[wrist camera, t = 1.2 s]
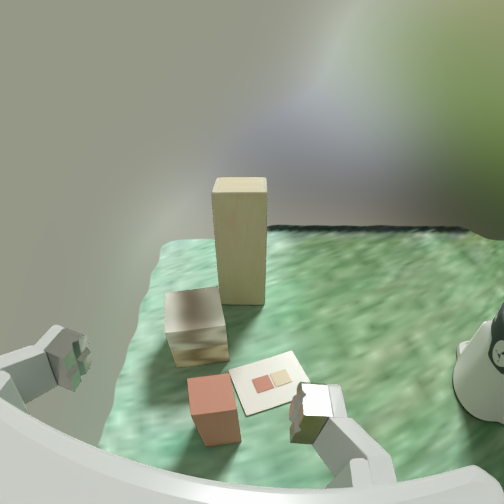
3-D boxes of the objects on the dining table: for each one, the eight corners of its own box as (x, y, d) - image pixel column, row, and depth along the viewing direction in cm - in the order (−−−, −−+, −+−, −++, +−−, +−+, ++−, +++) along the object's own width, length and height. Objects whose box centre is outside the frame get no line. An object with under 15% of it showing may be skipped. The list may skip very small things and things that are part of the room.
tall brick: (235, 412, 35) (229, 372, 30) (241, 441, 32) (236, 409, 26) (201, 416, 35) (187, 378, 29) (205, 446, 31) (190, 415, 25)
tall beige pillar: (265, 279, 58) (266, 174, 47) (266, 305, 52) (267, 192, 41) (224, 278, 59) (216, 175, 47) (220, 305, 53) (209, 193, 41)
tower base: (222, 322, 49) (217, 286, 45) (229, 360, 43) (225, 325, 38) (175, 328, 48) (165, 293, 43) (176, 367, 41) (164, 333, 37)
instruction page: (291, 351, 44) (291, 350, 44) (315, 391, 37) (315, 390, 37) (228, 370, 41) (228, 369, 41) (246, 416, 35) (246, 415, 35)
